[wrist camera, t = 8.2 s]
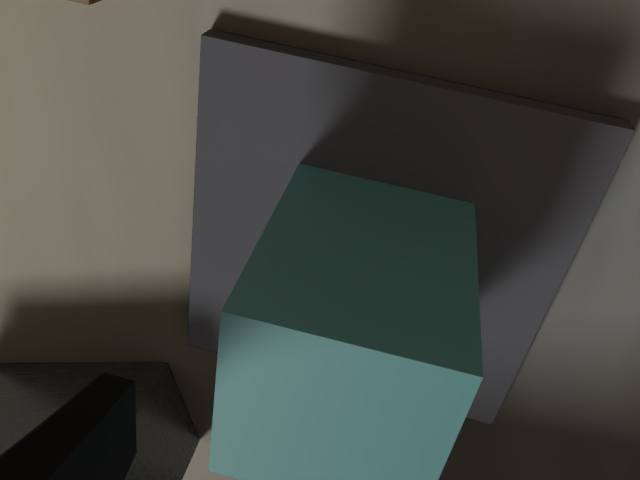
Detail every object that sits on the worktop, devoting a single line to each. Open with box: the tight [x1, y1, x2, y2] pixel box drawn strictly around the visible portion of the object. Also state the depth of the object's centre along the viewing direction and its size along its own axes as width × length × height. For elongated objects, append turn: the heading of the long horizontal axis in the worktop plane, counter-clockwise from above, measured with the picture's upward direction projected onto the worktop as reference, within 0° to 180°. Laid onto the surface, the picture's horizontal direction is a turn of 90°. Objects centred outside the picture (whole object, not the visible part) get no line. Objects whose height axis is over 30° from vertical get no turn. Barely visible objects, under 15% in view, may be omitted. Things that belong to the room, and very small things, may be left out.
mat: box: [187, 29, 636, 425], centre depth 16 cm, size 10×10×1 cm
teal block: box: [208, 164, 483, 480], centre depth 14 cm, size 4×4×6 cm
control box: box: [0, 363, 200, 480], centre depth 21 cm, size 8×4×5 cm, turn 101°
